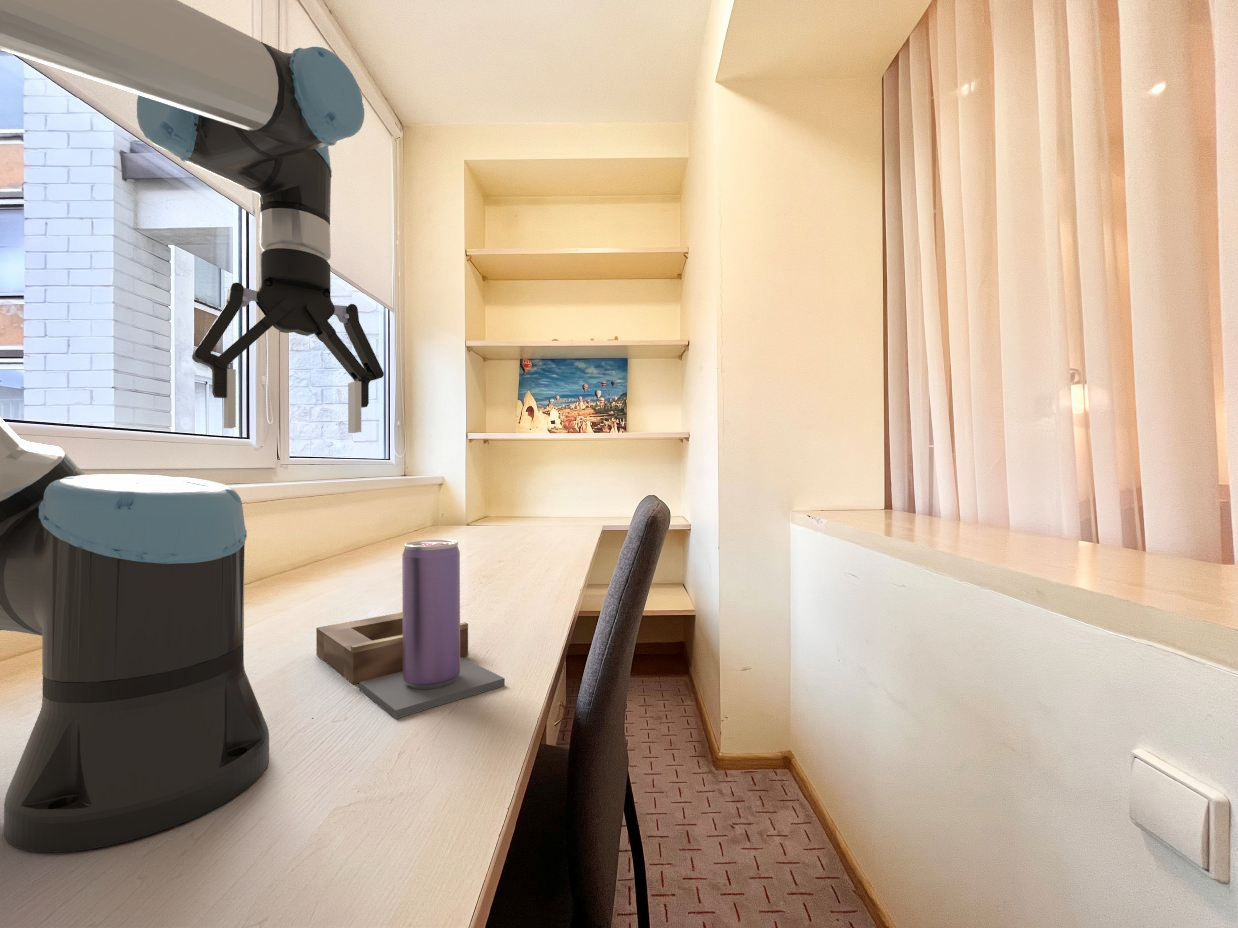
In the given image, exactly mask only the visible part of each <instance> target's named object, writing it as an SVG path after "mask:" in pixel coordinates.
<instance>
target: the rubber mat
mask: <svg viewBox="0 0 1238 928" xmlns="http://www.w3.org/2000/svg"><path fill="white" fill-rule="evenodd" d="M505 680H506V679H505V677H503V676H501V675H499V674H497V673H495V672H492V671H491V670H489V669H487V668H485V667H483V666H481V665H479V664H477V663H474V662H473V661H472V660H470V659H466V658H464V657H460V673H459V675H458V677H457V679H456V680H455V681H454V682H453V683H451V684H449V685H446V686H443V687H440V688H435V689H414V688H411V687H409V686H408V685H407V684H406V683H405V681H404V680H403V671H402V672H398V673H394V674H390V675H386V676H382V677H378V678H374V679H370V680H366V681H362V682H359V683H358V684H359V686H358V689H359V691H361V692H362V693H363V694H364V695H365V696H367V697H368V698H369V699H370V700H371V701H373V702H375V703H376V704H377V705H378V706H379V707H380V708H381V709H383V710H384V711H385V712H387V713H388V714H389V715H390V716H392V718H394V719H399V718H404V717H405V716H409V715H413V714H416V713H419V712H423V711H425V710H426V711H427V710H429V709H432V708H436V707H439V706H441V705H445V704H449V703H452V702H455V701H459V700H462V699H465V698H468V697H471V696H474V695H479V694H481V693H484V692H488V691H491V690H495V689H497V688H501V687H504V686H506V685H505Z"/></svg>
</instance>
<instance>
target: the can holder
mask: <svg viewBox="0 0 1238 928" xmlns="http://www.w3.org/2000/svg"><path fill="white" fill-rule="evenodd" d="M315 628H316V629H315V630H316V632H315V633H316V636H315V637H316V639H315V640H316V643H315V645H316V656H317V657H319V658H320V659H321V660H322V661H324V662H325V663H326V665H329V666H330V667H331V668H332V669H333V670H334V671H336V672H337V673H338V674H339V675H341V676H342V677H344V678H345V679H346V680H347V681H348V682H349V683H351V684H352V685H357V684H359V682H362V681H366V680H370V679H374V678H378V677H382V676H386V675H390V674H394V673H398V672H402V671H403V611H401V612H397V613H392V614H385V615H379V616H375V617H369V618H363V619H358V620H357V619H356V620H353V621H345V622H340V623H336V624H329V625H324V626H319V627H315ZM468 656H469V623H468V622H460V657H463V658H464V657H468Z"/></svg>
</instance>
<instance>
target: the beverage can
mask: <svg viewBox="0 0 1238 928" xmlns="http://www.w3.org/2000/svg"><path fill="white" fill-rule="evenodd" d="M458 545H459V542H458V541H457V540H453V539H426V540H416V541H415V540H414V541H410V542H409V541H408V542H406V543H404V546H403V547H404V549H403V552H402V557H401V558H402V559H401V562H402V565H401V567H402V568H401V569H402V570H401V571H402V577H401V578H402V581H401V582H402V587H401V588H402V589H401V590H402V592H401V593H402V597H401V599H402V612H403V680H404V681H405V683H406V684H407V685H408V686H409V687H411V688H414V689H435V688H440V687H443V686H446V685H449V684H451V683H453V682H454V681H455V680H456V679H457V677H458V675H459V673H460V623H461V551H460V548H459V546H458Z"/></svg>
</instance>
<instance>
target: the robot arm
mask: <svg viewBox="0 0 1238 928" xmlns="http://www.w3.org/2000/svg"><path fill="white" fill-rule="evenodd" d="M0 51H2V52H3V51H4V52H6V53H10V54H13V55H14V56H15V55H16V56H18V57H22V58H24V59H27V60H31V61H34V62H36V63H40V64H44V65H47V66H49V67H53V68H56V69H58V70H60V71H61V70H62V71H65V72H68V73H71V74H74V75H77V76H80V77H83V78H86V79H89V80H93V81H96V82H99V83H101V84H105V85H108V86H111V87H114V88H117V89H120V90H124V91H126V92H128V93H132V94H136V95H137V100H136V119H137V124H138V127H139V129H140V131H141V133H142V135H143V136H144V137H145V138H146V139H147V140H148V142H150V143H152V144H153V145H154V146H156V147H159V148H160V149H162V150H164V151H166V152H168V153H169V154H172V155H174V156H175V157H177V158H179V159H180V160H181V161H182V162H185V163H189V164H191V165H193V166H196V167H197V168H199V169H202V170H203V171H204V170H205V171H207V172H210V173H211V174H213V175H215V176H218V177H219V178H222V179H225V180H227V181H228V182H232V183H233V184H236V185H238V186H241V187H242V188H244V189H246V190H248V191H251V192H253V193H254V194H256V195H258V198H259V199H258V201H259V202H258V203H259V216H260V217H259V218H260V220H259V227H260V228H259V247H260V249H261V250H262V252H261V253H260V254H259V289H258V290H255V289H254V290H253V289H250V288H247V287H244V286H243V284H242V283H240V282H233V283H232V284H231V285H230V287H229V288H228V289H227V294H226V302H225V305H224V307H223V309H222V310H221V312H220V313H219V314H218V316H217V317H216V319H215V320H214V322H213V324H212V325H211V326H210V328H209V329H208V330H207V333H206V334H205V336H204V337H203V338H202V340H201V341H200V343H199V345H197V348H196V349H195V350H194V352H193V354H192V356H191V357H192V358H191V359H192V361H194V362H195V363H198V364H202V365H204V366H207V367H209V368H210V369H211V373H212V374H211V375H212V376H211V379H212V380H211V384H212V385H211V388H212V389H211V390H212V391H211V393H212V394H211V395H212V396H213V398H215V399H223V429H234V428H236V427H237V418H236V417H237V415H236V414H237V410H236V409H237V408H236V406H237V404H236V403H237V402H236V401H237V400H236V399H237V396H236V394H237V391H236V390H237V389H236V388H237V387H236V386H237V384H236V383H237V382H236V381H237V379H236V378H237V377H236V375H237V372H236V369H233V368H228V366H229V365H230V364H231V363H232V362H233V361H234V360H236V358H238V357H239V356H240V355H241V354H242V353H243V352H244V351H245V350H247V349H248V348H249V347H250V346H251V345H252V344H253V343H254V342H256V341H257V340H258V339H259V338H260V337H261V336H263V334H265V333H266V332H267V331H268V330H269V329H271V328H272V327H273V328H275V329H276V330H277V331H279V333H285V334H289V333H291V334H292V333H295V334H298V335H300V336H303V337H305V336H306V337H308V336H312V335H315V337H316V338H317V339H318V340H319V341H320V342H321V343H323V344H324V346H325V347H326V348H327V349H328V351H329V352H330V353H331V354H332V356H334V358H335V359H336V360H337V361H338V362H339V364H340V365H341V367H343V369H344V370H345V371H346V372H347V374H348V375H349V377H351V379H352V380H353V381H352V382H349V383H347V396H348V397H347V402H348V404H347V407H348V408H347V415H348V416H347V419H348V420H347V422H348V425H347V426H348V428H347V429H348V430H347V433H349V434H356V433H361V432H362V408H368V406H369V404H370V403H369V402H370V400H369V399H370V397H369V391H370V390H369V389H370V388H369V384H370V382H371V381H372V382H373V381H376V380H379V379H382V378H383V377H385V376H384V375H385V373H384V371H383V368H382V367H381V364H380V362H379V360H378V358H377V356H376V354H375V352H374V350H373V347H372V345H371V343H370V342H369V339H368V337H367V336H366V333H365V330H364V329H363V327H362V324H361V323H360V317H359V311H358V306H357V305H356V304H354V303H350V304H348V305H339V304H337V305H336V304H334V303H333V301H332V298H331V293H332V292H331V264H330V263H329V262H328V261H329V260H331V190H332V189H331V187H332V186H331V183H332V182H331V181H332V176H333V174H332V172H333V171H332V168H331V157H330V146H335V145H336V144H337V143H338V142H341V141H344V140H346V139H348V138H352V137H354V136H356V135H357V134H358V133H360V130H361V129H362V127H363V124H364V121H365V108H364V107H365V106H364V103H363V95H362V92H361V89H360V86H359V84H358V81H357V80H356V78H355V76H354V74H353V73H352V72H351V70H350V68H349V67H348V66H347V65H346V63H345V62H344V61H343V60H342V59H341V58H340V57H339V56H338V55H336V53H334V52H332V51H331V50H329V49H327V48H325V47H321V46H309V47H306V48H302V47H298V48H294V49H293V50H292V52H291V53H290V52H289V53H288V52H284V51H282V50H280V49H278V48H275V47H274V46H272V45H269V44H267V43H266V42H265V43H264V42H263V41H260V40H258V39H256V37H255V38H254V37H252V36H250V35H248V34H246V33H245V32H242V31H240V30H238V29H236V28H234V27H232V26H230V25H228V24H226V23H224V22H222V21H221V20H218V19H216V18H214V17H213V16H212V17H211V16H209V14H208V15H207V14H206V13H204V12H201V11H199V10H198V9H196V8H194V7H191V6H190V5H188V4H186V3H183V2H182V1H179V0H0ZM250 302H255V304H256V306H257V307H258V309H260V310H261V312H262V313H263V314H264V315H263V316H264V317H262V318H261V319H260V320H259V321H258V322H257V323H255V324H254V325H253V326H252V327H251V328H250V329H249V330H247V331H246V332H245V333H244V334H243V335H242V336H241V337H239V338H238V339H237V340H236V341H234V343H232V344H230V346H229V347H228V348H226V349H225V350H224V351H223V352H222V353H221V354H219V355H216V354H213V353H212V351H213V350H214V348H215V347H216V345H217V344H218V342H219V341H220V339H221V338H222V336H223V334H225V332H226V331H227V328H228V327H229V325H231V323H232V321H233V320H234V318H235V316H237V313H238V312H239V310H240V308H241V307H242V308H244V307H247V306H248V305H249V304H250ZM333 315H335V317H336V318H337V320H338V321H339V322H340V323H342V324H343V328H344V330H345V332H346V335H347V336H348V338H349V341H350V343H351V344H352V347H353V348H354V351H355V353H356V354H357V357H358V359H359V360H358V359H357V358H356V356H355V355H354V354H353V353H352V351H351V350H350V349H349V347H348V346H347V345H346V344H345V343H344V342H343V340H342V339H341V338H340V336H339V335H338V334H337V331H336V329H335V327H333V326H332V324H331V323H330V321H329V320H330V319H331V318H332V317H333ZM359 361H360V362H359ZM243 508H244V507H243V502H242V499H241V496H240V495H239V494H238V492H237V491H236V490H235V489H233V488H232V487H231V486H229V485H227V484H224V483H221V482H218V481H212V480H209V479H207V480H206V479H201V478H193V477H184V476H178V477H176V476H174V477H173V476H165V475H156V474H155V475H153V474H132V473H131V474H125V473H124V474H123V473H122V474H121V473H117V474H116V473H111V474H110V473H109V474H108V473H107V474H103V473H102V474H85V472H84V471H83V470H82V469H81V468H80V467H79V466H78V465H77V464H76V463H75V461H74V460H72V458H71V457H70V456H69V455H68V454H67V453H66V452H65V450H64V449H62V448H61V447H59V446H57V445H56V446H55V445H49V444H42V443H37V442H30V441H26V440H25V439H22V438H21V437H20V436H19V435H18V434H17V433H16V432H15V431H14V430H13V429H12V428H11V427H10V426H9V425H8V424H7V423H6V421H5V420H4V419H3V418H2V417H1V416H0V631H6V632H7V631H10V632H16V633H17V632H18V633H22V634H29V635H35V636H42V639H41V640H42V645H41V646H42V651H41V652H42V654H41V655H42V659H41V660H42V664H41V665H42V669H41V671H42V673H41V674H42V697H41V698H42V702H41V709H40V712H39V713H38V717H37V719H36V721H35V723H34V726H33V728H32V730H31V732H30V735H29V738H28V740H27V743H26V745H25V747H24V750H23V752H22V755H21V756H20V757H21V758H20V760H19V762H18V765H17V767H16V769H15V772H14V774H13V776H12V779H11V782H10V784H9V786H8V789H7V791H6V793H5V798H4V802H3V803H4V804H3V806H4V807H3V815H4V816H3V834H4V839H5V840H6V841H7V842H8V843H9V844H10V845H11V846H14V847H15V848H18V849H21V850H24V851H29V852H35V853H37V852H38V853H64V852H66V853H67V852H77V851H85V850H91V849H92V850H93V849H96V848H102V847H107V846H108V847H109V846H112V845H116V844H121V843H125V842H128V841H132V840H136V839H140V838H143V837H146V836H150V835H152V834H156V833H159V832H162V831H165V830H167V829H170V828H173V827H175V826H178V825H180V824H183V823H185V822H188V821H191V820H192V819H195V818H197V817H199V816H201V815H204V814H206V813H207V812H210V811H213V810H214V809H216V808H218V807H219V806H221V805H223V804H224V803H227V802H228V801H230V800H232V799H233V798H234V797H236V796H238V795H239V794H241V793H242V792H244V791H245V790H247V789H248V788H249V787H250V786H251V785H252V784H254V783H255V782H256V781H257V780H258V779H259V778H260V777H261V776H262V774H263V773H264V771H265V770H266V769H267V767H268V765H269V763H270V732H269V727H268V725H267V724H268V723H267V722H266V720H265V717H264V715H263V712H262V709H261V706H260V705H259V703H258V700H257V697H256V695H255V692H254V690H253V687H252V685H251V683H250V679H249V678H248V675H247V673H246V669H245V662H244V661H245V660H244V656H245V655H244V654H245V653H244V647H245V646H244V640H245V638H244V637H245V544H246V543H245V542H246V540H247V537H248V535H247V534H248V533H247V529H246V524H245V518H244V509H243Z"/></svg>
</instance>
